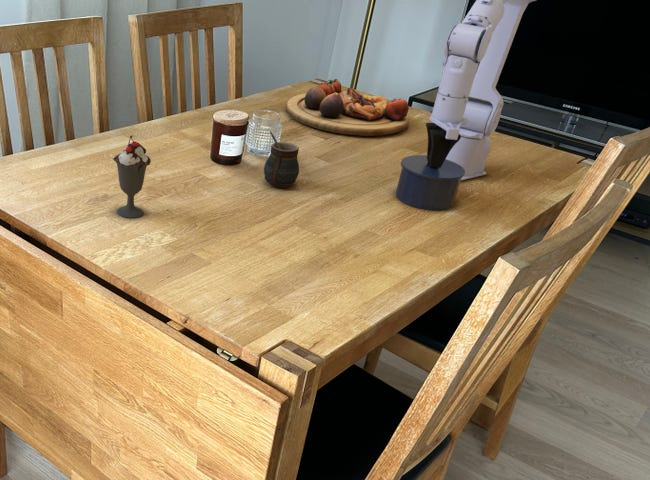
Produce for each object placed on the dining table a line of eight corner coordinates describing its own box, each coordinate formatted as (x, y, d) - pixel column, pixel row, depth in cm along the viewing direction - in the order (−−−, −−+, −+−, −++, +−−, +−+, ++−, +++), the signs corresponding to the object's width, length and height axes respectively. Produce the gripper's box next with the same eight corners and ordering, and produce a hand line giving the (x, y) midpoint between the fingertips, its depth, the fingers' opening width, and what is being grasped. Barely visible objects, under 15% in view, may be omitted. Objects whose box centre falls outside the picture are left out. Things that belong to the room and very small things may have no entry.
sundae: (121, 222, 130) (123, 139, 121) (106, 207, 135) (107, 127, 126) (154, 217, 133) (158, 136, 124) (138, 203, 138) (141, 124, 129)
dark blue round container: (421, 184, 155) (429, 155, 152) (464, 204, 148) (474, 174, 144) (384, 193, 150) (391, 163, 146) (427, 214, 142) (436, 183, 139)
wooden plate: (430, 122, 192) (438, 90, 188) (366, 147, 173) (374, 112, 168) (329, 93, 210) (334, 63, 205) (261, 112, 190) (265, 80, 185)
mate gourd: (289, 194, 146) (297, 145, 140) (254, 185, 149) (261, 136, 143) (302, 183, 151) (310, 135, 146) (268, 174, 154) (275, 127, 148)
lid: (397, 157, 151) (402, 136, 149) (458, 164, 150) (464, 144, 147) (402, 178, 141) (408, 157, 138) (468, 186, 140) (474, 165, 137)
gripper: (484, 107, 130) (461, 179, 138) (466, 85, 142) (446, 153, 150) (444, 103, 131) (424, 175, 139) (430, 82, 143) (412, 150, 150)
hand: (433, 164), depth 144 cm, fingers closed on lid, 2 cm apart
